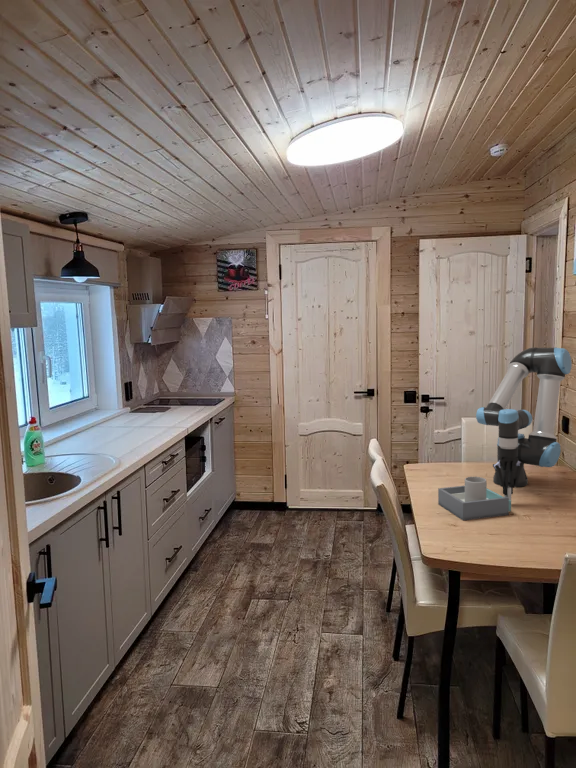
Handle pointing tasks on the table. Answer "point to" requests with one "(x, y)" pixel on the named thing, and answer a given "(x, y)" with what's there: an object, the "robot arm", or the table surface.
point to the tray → (489, 495)
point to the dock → (471, 505)
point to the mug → (475, 488)
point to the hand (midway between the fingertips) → (507, 502)
